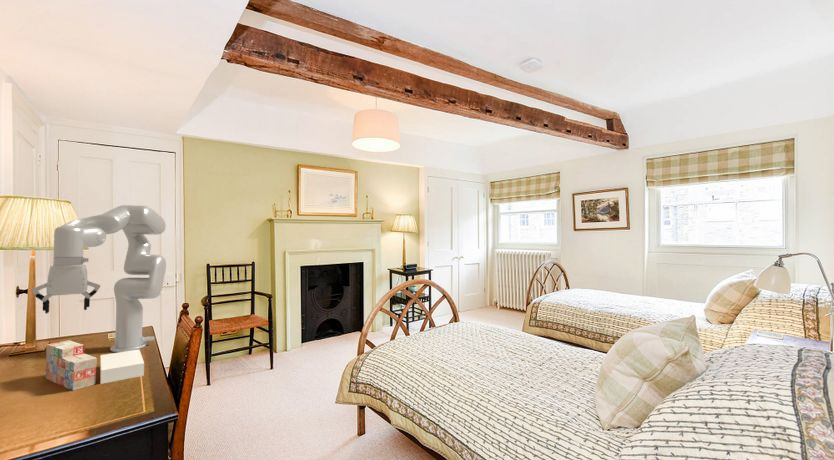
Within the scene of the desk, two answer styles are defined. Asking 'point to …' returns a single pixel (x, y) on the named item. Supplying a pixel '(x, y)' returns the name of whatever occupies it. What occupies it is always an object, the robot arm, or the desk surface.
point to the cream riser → (121, 366)
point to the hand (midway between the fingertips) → (66, 310)
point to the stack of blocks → (70, 365)
